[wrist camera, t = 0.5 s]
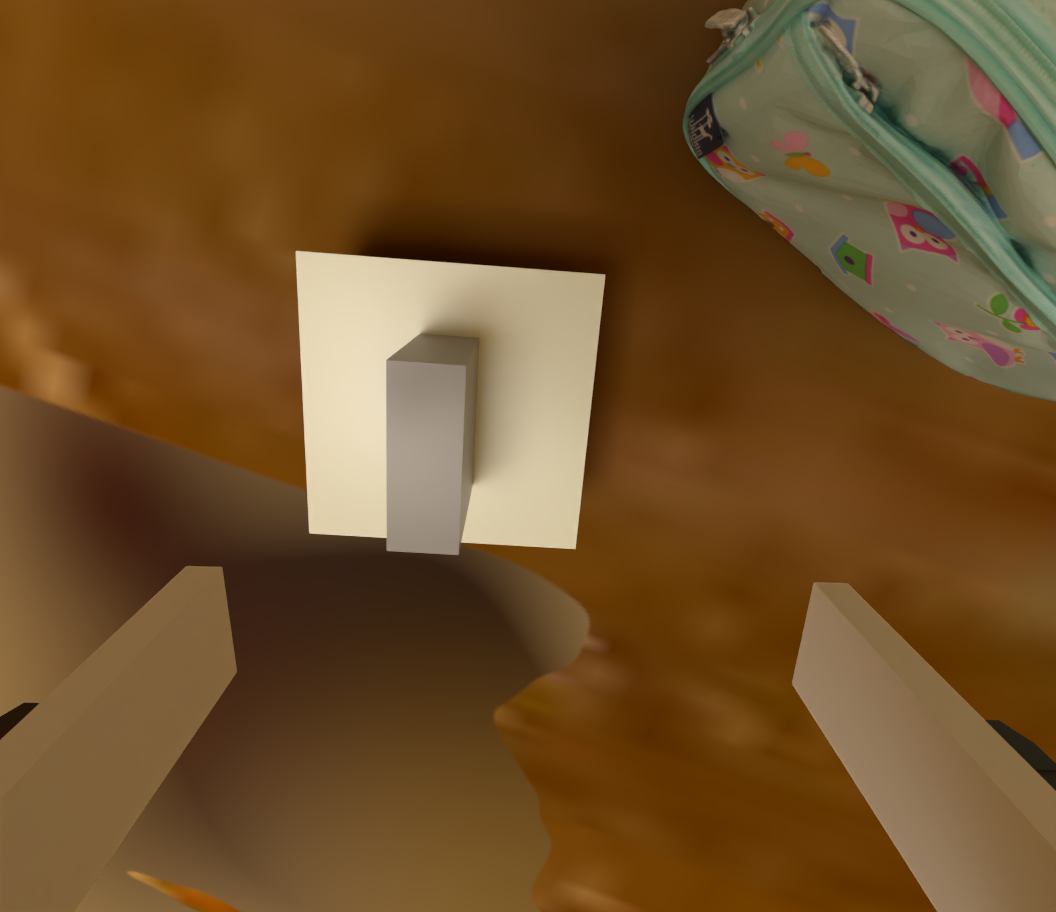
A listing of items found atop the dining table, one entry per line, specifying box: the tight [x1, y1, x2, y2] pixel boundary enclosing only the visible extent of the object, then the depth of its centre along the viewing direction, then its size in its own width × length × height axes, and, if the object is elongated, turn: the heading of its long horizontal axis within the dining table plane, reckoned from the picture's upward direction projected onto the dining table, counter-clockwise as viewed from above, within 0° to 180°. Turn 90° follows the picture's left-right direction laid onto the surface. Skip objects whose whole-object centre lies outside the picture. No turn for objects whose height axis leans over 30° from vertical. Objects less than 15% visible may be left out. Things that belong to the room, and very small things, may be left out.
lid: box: [296, 251, 605, 555], centre depth 28 cm, size 15×15×10 cm
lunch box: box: [683, 0, 1056, 401], centre depth 25 cm, size 27×10×21 cm, turn 55°
